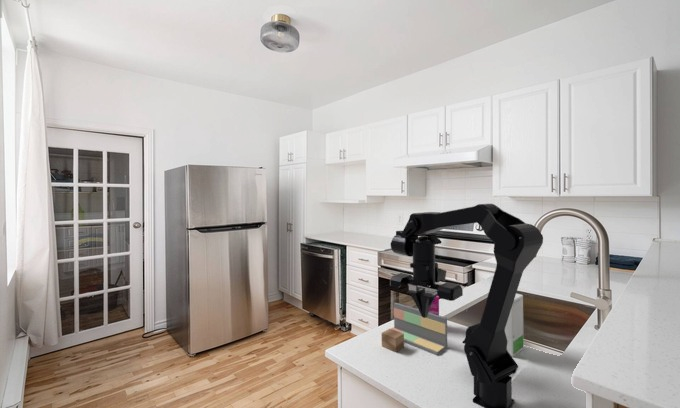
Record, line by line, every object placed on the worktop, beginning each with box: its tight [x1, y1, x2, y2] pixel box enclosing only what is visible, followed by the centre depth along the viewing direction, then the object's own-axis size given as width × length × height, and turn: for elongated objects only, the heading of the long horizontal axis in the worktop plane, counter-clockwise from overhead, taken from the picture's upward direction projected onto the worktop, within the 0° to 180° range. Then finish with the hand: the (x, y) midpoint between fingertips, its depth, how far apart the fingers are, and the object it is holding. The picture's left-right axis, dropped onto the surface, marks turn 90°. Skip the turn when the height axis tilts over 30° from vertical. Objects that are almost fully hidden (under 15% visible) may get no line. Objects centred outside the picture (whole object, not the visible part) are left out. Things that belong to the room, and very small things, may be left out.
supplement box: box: [429, 296, 440, 316], centre depth 103 cm, size 6×6×12 cm
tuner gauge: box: [390, 302, 448, 356], centre depth 93 cm, size 18×6×9 cm, turn 44°
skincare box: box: [505, 293, 525, 358], centre depth 88 cm, size 8×7×16 cm
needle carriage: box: [381, 328, 405, 353], centre depth 91 cm, size 5×6×4 cm
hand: (424, 317), depth 83 cm, fingers closed
